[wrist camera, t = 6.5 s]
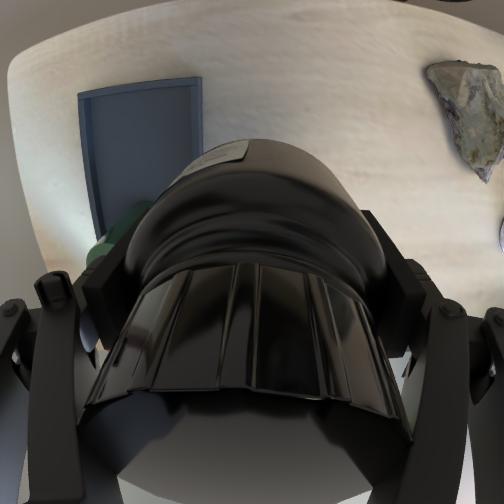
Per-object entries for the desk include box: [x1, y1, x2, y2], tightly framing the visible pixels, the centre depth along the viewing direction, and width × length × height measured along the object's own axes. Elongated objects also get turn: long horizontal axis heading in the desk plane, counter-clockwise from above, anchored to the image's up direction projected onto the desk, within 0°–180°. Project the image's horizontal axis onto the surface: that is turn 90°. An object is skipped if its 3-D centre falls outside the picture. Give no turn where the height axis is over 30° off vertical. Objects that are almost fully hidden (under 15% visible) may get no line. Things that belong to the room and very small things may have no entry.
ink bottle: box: [76, 139, 414, 504], centre depth 10 cm, size 10×9×12 cm
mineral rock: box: [426, 60, 504, 184], centre depth 23 cm, size 13×11×10 cm
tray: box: [77, 77, 203, 242], centre depth 34 cm, size 27×14×2 cm, turn 179°
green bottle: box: [86, 201, 155, 267], centre depth 30 cm, size 6×6×14 cm
